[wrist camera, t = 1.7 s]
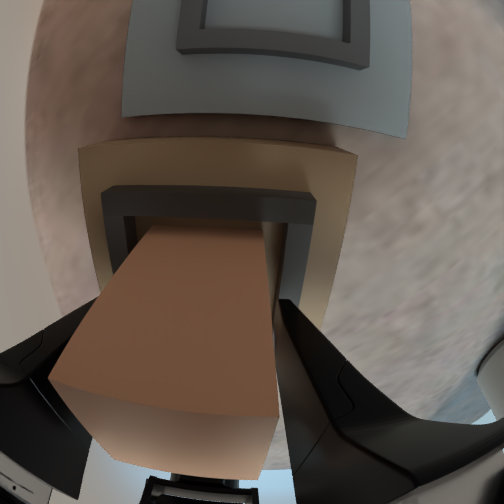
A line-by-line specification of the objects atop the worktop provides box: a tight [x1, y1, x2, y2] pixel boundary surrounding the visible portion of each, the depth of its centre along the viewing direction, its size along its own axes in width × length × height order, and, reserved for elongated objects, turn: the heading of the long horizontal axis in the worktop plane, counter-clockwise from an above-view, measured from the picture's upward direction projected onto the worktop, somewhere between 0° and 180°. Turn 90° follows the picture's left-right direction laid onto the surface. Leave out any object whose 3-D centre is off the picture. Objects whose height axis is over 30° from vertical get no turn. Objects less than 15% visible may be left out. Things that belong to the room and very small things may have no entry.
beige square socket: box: [78, 136, 358, 354], centre depth 11 cm, size 10×10×4 cm
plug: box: [48, 225, 279, 480], centre depth 8 cm, size 4×4×7 cm
